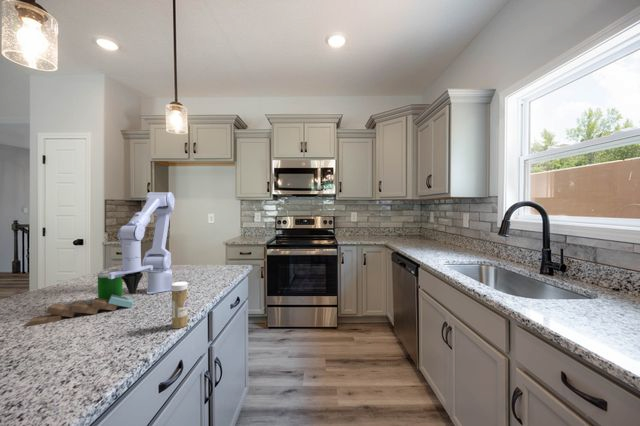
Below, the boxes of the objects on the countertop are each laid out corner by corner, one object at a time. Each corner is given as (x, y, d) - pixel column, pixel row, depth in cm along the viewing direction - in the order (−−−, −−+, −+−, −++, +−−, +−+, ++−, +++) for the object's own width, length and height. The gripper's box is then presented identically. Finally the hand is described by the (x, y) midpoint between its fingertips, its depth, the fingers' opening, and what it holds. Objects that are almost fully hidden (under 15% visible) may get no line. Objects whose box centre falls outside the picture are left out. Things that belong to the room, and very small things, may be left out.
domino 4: (118, 301, 97) (95, 297, 93) (117, 305, 93) (94, 301, 90) (115, 306, 97) (92, 303, 93) (114, 310, 93) (91, 306, 89)
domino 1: (63, 312, 88) (33, 317, 85) (60, 316, 85) (28, 322, 81) (63, 317, 89) (33, 323, 85) (60, 322, 85) (29, 328, 81)
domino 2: (79, 307, 91) (54, 303, 88) (75, 311, 87) (48, 307, 84) (77, 313, 91) (51, 309, 88) (72, 317, 87) (45, 313, 84)
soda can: (127, 298, 105) (126, 269, 105) (106, 305, 98) (105, 274, 97) (114, 296, 107) (113, 268, 107) (93, 303, 100) (92, 272, 100)
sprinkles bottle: (185, 328, 80) (185, 284, 79) (169, 329, 79) (168, 285, 78) (189, 321, 84) (189, 280, 84) (174, 323, 83) (173, 281, 83)
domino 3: (100, 304, 94) (76, 301, 90) (98, 308, 90) (73, 305, 87) (98, 310, 94) (73, 307, 90) (96, 314, 90) (70, 311, 86)
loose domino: (133, 299, 100) (112, 294, 96) (133, 302, 96) (111, 297, 92) (130, 304, 99) (109, 299, 95) (130, 307, 96) (108, 303, 92)
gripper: (145, 253, 106) (145, 286, 106) (102, 259, 92) (103, 297, 93) (156, 254, 103) (156, 288, 103) (114, 261, 89) (115, 300, 90)
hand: (132, 293), depth 98 cm, fingers closed
